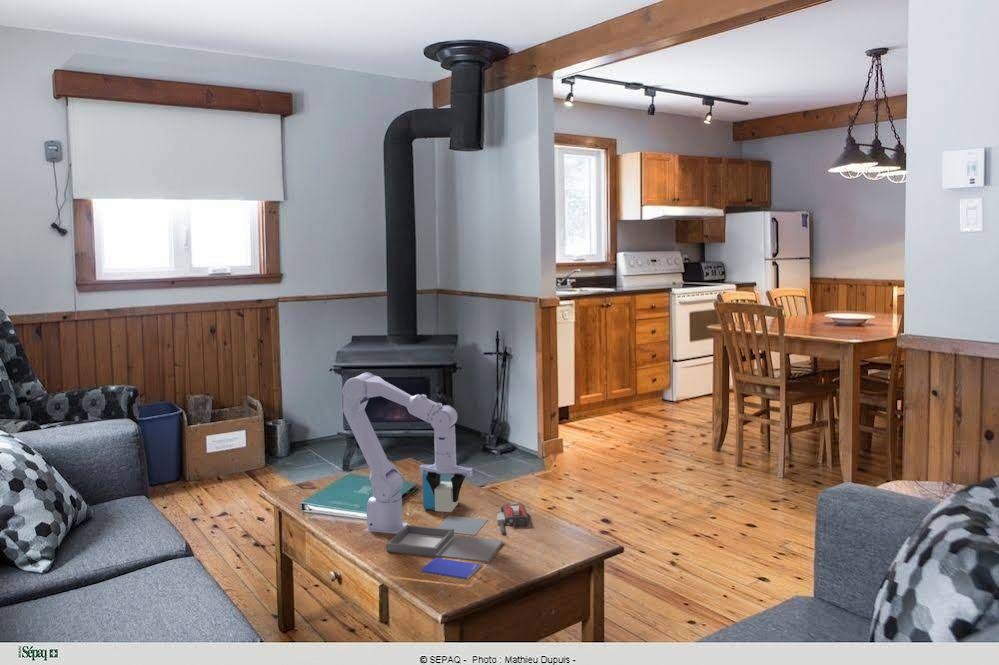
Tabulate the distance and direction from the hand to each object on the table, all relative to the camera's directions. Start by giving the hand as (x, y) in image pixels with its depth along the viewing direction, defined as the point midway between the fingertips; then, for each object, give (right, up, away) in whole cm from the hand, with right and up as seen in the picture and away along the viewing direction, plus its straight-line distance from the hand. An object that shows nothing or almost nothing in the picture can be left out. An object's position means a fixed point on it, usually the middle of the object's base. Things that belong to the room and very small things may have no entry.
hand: (446, 500), depth 214 cm
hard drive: (+3, -13, -23) cm, 26 cm away
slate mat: (+4, -9, +6) cm, 11 cm away
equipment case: (0, -11, -9) cm, 14 cm away
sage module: (0, -2, 0) cm, 2 cm away
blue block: (-4, -7, +25) cm, 26 cm away
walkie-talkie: (+18, -9, +8) cm, 22 cm away
